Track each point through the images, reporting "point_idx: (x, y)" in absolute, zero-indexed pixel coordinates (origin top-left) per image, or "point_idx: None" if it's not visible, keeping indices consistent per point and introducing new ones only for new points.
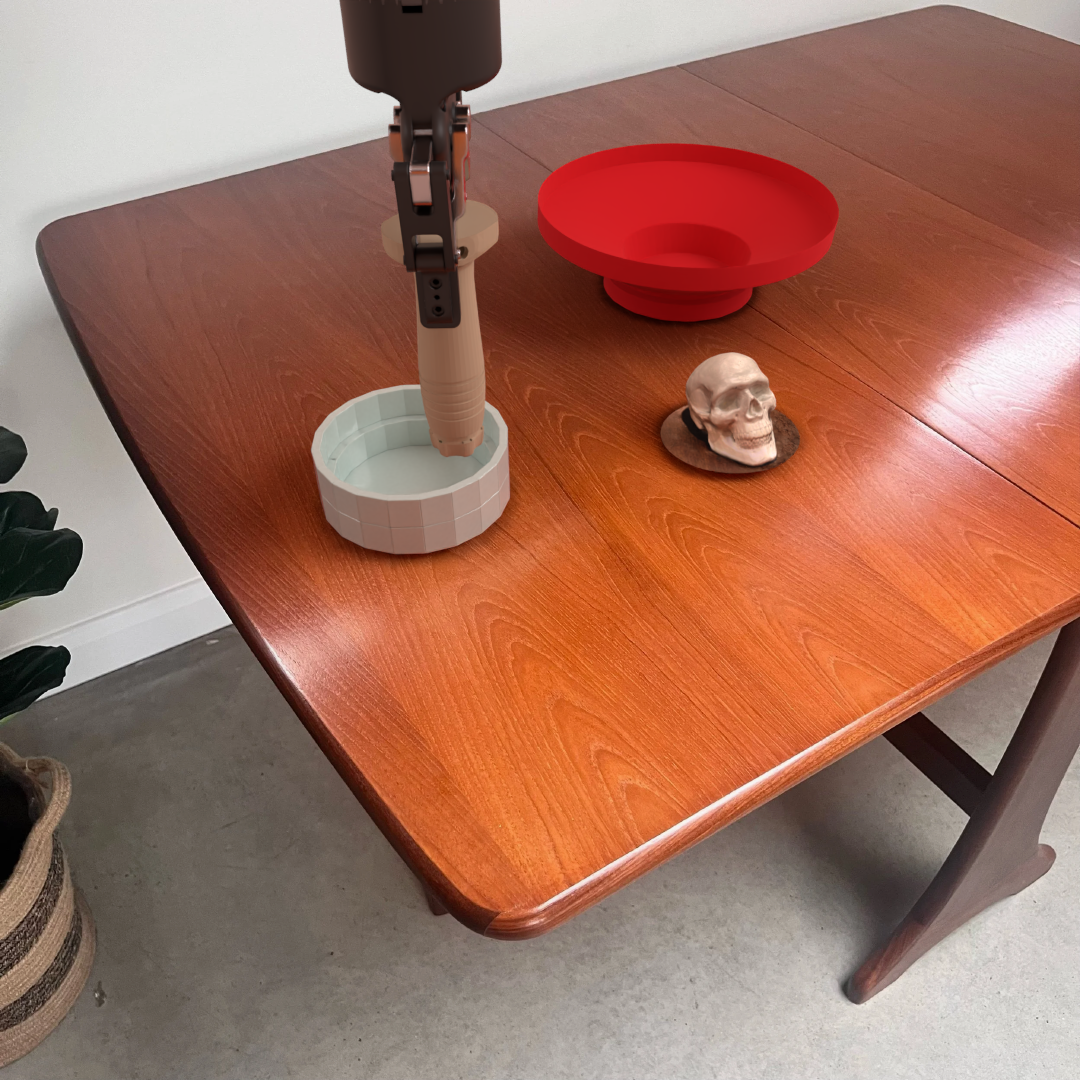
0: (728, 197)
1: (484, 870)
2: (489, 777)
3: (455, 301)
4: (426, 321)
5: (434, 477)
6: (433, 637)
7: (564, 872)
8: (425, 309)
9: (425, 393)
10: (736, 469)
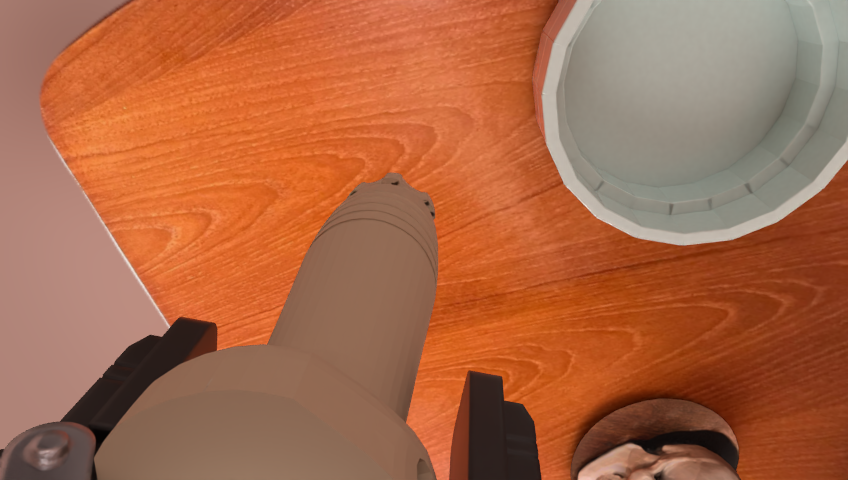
0: None
1: (76, 85)
2: (181, 106)
3: None
4: (142, 339)
5: (698, 107)
6: (386, 68)
7: (77, 158)
8: (117, 361)
9: (339, 213)
10: (582, 454)
